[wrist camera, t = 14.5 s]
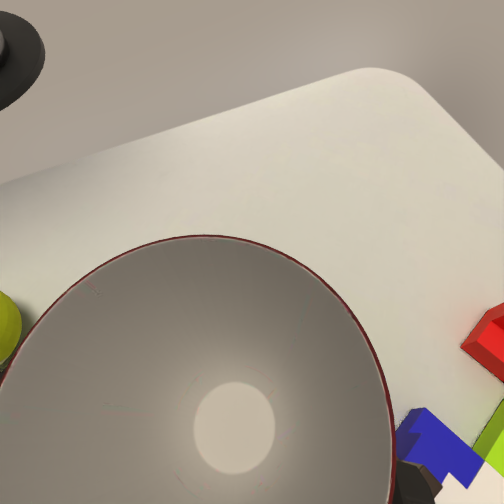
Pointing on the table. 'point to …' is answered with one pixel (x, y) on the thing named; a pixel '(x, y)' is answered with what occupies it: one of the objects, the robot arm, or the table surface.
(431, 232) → the table surface
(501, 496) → the building blocks
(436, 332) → the table surface
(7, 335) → the tennis ball
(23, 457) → the mug
